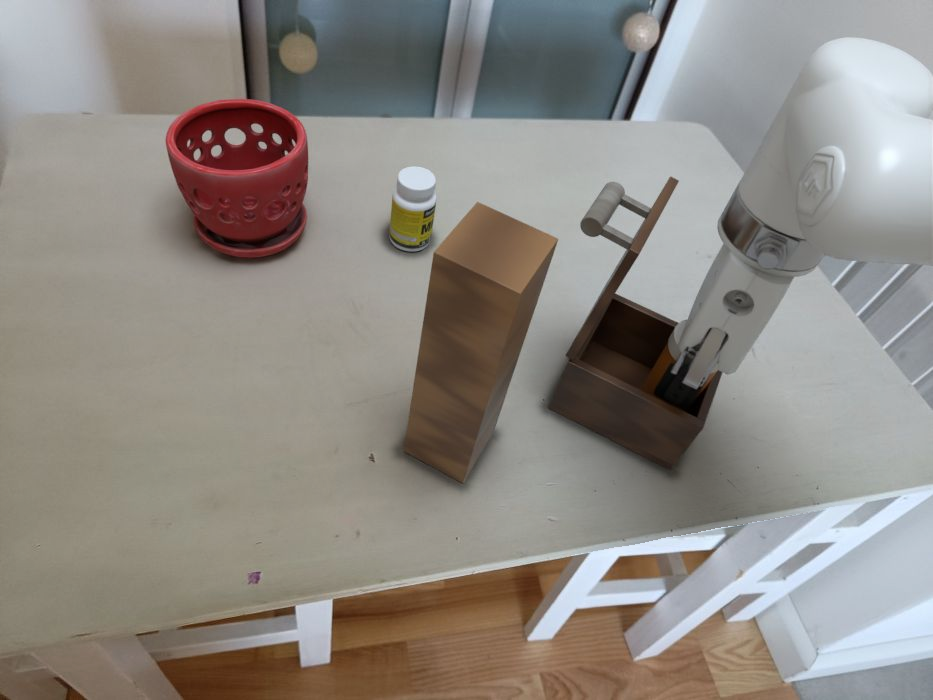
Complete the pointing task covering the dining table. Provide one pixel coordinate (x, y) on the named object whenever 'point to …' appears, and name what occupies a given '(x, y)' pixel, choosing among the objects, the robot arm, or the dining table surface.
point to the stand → (473, 335)
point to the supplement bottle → (413, 209)
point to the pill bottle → (669, 357)
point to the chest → (629, 385)
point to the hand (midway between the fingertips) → (679, 377)
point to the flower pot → (242, 176)
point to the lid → (597, 225)
